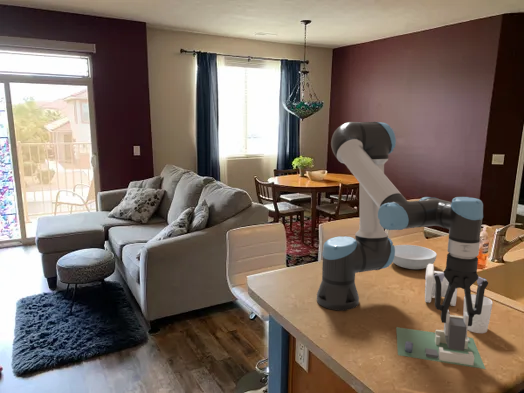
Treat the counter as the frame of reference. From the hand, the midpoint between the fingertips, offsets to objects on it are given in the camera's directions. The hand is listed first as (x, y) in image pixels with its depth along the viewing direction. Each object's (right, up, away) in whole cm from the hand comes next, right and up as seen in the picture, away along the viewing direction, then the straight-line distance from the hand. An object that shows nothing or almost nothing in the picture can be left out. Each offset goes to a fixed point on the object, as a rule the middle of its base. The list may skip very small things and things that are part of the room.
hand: (454, 334), depth 111 cm
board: (-3, -5, +4) cm, 7 cm away
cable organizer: (+12, 0, +36) cm, 38 cm away
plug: (0, -3, 0) cm, 3 cm away
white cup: (+13, -4, +15) cm, 20 cm away
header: (0, -6, +1) cm, 6 cm away
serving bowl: (+14, +7, +70) cm, 72 cm away
